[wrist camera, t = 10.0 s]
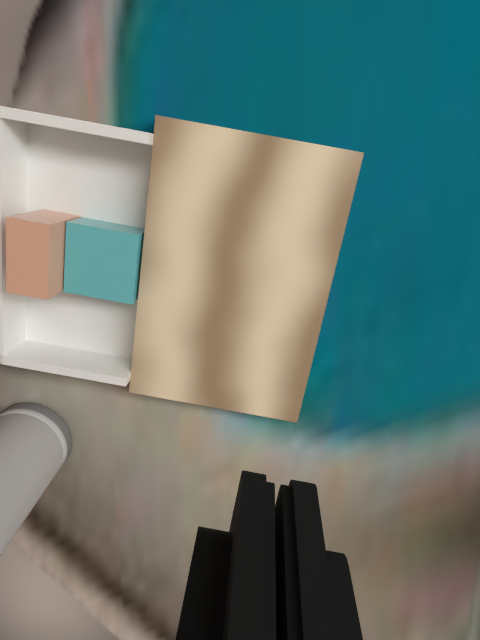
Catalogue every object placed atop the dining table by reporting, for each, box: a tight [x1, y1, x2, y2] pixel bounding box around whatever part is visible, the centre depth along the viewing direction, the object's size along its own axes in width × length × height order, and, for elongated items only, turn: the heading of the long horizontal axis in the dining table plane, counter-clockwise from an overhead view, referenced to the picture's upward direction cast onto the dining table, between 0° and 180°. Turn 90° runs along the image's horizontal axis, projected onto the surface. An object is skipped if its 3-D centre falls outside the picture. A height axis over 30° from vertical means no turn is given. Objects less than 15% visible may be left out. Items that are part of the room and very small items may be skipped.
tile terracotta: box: [6, 209, 81, 300], centre depth 28 cm, size 4×4×2 cm
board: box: [129, 115, 364, 422], centre depth 29 cm, size 12×18×2 cm, turn 170°
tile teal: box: [63, 217, 145, 305], centre depth 29 cm, size 4×4×2 cm
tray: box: [0, 106, 154, 386], centre depth 29 cm, size 9×16×4 cm, turn 170°
